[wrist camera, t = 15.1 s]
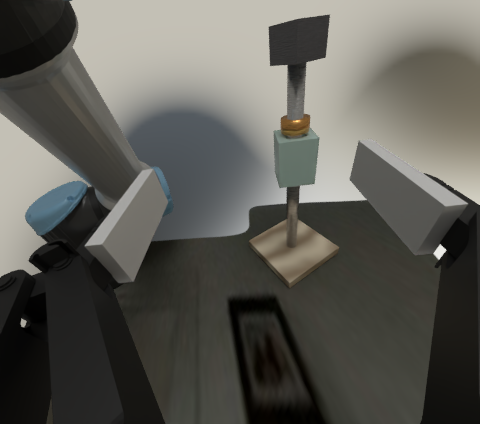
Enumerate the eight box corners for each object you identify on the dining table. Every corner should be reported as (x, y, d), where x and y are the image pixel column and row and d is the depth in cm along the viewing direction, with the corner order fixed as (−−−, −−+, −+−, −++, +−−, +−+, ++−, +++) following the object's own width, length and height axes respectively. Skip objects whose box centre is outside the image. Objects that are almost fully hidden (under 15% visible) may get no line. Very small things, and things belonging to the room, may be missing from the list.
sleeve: (279, 187, 36) (278, 143, 31) (275, 171, 40) (273, 130, 35) (314, 183, 35) (319, 137, 30) (305, 167, 40) (308, 125, 35)
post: (276, 242, 50) (268, 26, 25) (291, 233, 52) (298, 22, 27) (290, 255, 47) (297, 18, 22) (306, 245, 48) (329, 14, 24)
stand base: (249, 246, 53) (248, 240, 52) (292, 220, 58) (292, 215, 57) (289, 288, 43) (289, 283, 42) (337, 253, 48) (338, 247, 47)
